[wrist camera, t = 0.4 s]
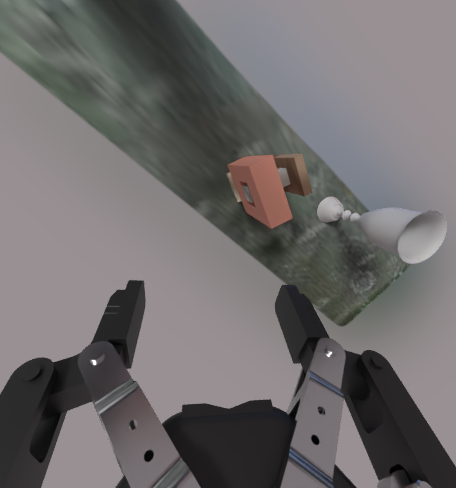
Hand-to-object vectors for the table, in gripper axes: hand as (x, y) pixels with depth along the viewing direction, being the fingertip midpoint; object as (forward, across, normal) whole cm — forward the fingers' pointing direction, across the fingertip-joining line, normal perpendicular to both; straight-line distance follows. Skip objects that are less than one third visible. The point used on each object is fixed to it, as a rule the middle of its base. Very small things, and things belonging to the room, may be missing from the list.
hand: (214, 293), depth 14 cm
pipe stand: (+28, -8, +2) cm, 29 cm away
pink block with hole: (+25, -7, +2) cm, 26 cm away
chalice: (+29, -25, +6) cm, 39 cm away
